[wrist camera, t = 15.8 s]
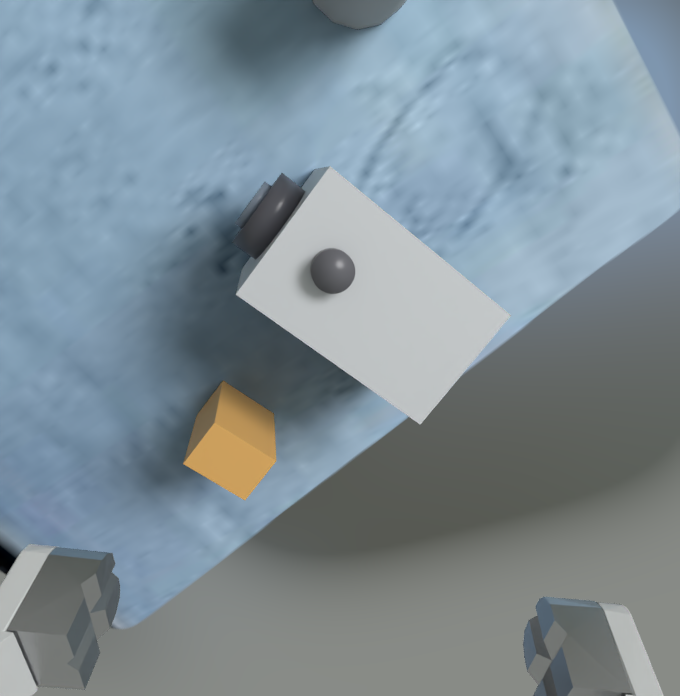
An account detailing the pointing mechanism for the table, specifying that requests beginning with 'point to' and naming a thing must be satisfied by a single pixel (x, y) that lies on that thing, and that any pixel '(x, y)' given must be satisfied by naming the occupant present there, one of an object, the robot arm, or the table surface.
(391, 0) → the cup
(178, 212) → the table surface
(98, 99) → the table surface
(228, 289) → the table surface
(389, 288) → the camera housing
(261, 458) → the tan box with label
